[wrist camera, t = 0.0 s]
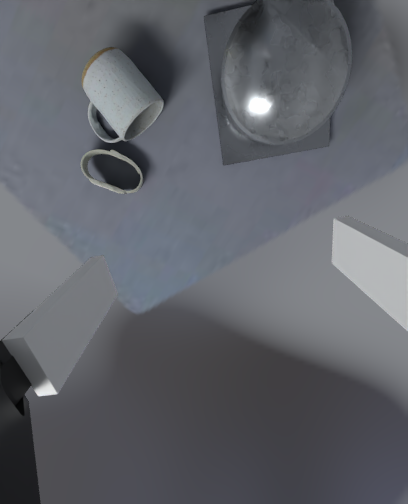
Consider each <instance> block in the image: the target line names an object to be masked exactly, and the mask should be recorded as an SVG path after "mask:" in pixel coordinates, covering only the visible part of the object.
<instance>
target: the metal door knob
mask: <svg viewBox="0 0 408 504" xmlns="http://www.w3.org/2000/svg"><path fill="white" fill-rule="evenodd" d="M204 23H205V30H206V38H207V45H208V53H209V60H210V68H211V76H212V83H213V91H214V98H215V106H216V113H217V121H218V128H219V136H220V144H221V151H222V159H223V165H229V164H235V163H240V162H246V161H251V160H257V159H262V158H268V157H273V156H279V155H284V154H290V153H295V152H301V151H306V150H312V149H317V148H323V147H328V146H329V140H330V117H331V115H332V114H333V112H334V111H335V110H336V108H337V106H338V105H339V103H340V101H341V99H342V97H343V95H344V93H345V90H346V87H347V84H348V81H349V77H350V72H351V65H352V45H351V38H350V34H349V30H348V27H347V24H346V22H345V19H344V18H343V16H342V14H341V12H340V11H339V9H338V8H337V7H336V6H335V4H334V0H258V1H256V2H255V3H254V4H253V5H250V6H245V7H241V8H237V9H232V10H228V11H224V12H219V13H215V14H211V15H206V16H204Z"/></svg>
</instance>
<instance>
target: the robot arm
mask: <svg viewBox="0 0 408 504" xmlns="http://www.w3.org/2000/svg"><path fill="white" fill-rule="evenodd" d="M333 224H334V225H333V246H332V264H333V265H334V266H335V267H337V268H338V269H339V270H340V271H341V272H342V273H343V274H344V275H345V276H347V277H348V278H349V279H350V280H351V281H352V282H353V283H354V284H356V285H357V286H358V287H359V288H360V289H361V290H362V291H364V293H366V294H367V295H368V296H369V297H370V298H371V299H372V300H373V301H374V302H376V303H377V304H378V305H379V306H380V307H381V308H382V309H383V310H384V311H386V312H387V313H388V314H389V315H390V316H391V317H392V318H393V319H395V320H396V321H397V322H398V323H399V324H400V325H401V326H402V327H403V328H405V329H406V330H407V331H408V243H406V242H404V241H401V240H399V239H397V238H395V237H393V236H391V235H388V234H386V233H384V232H382V231H380V230H378V229H375V228H373V227H371V226H369V225H367V224H365V223H362V222H360V221H358V220H356V219H354V218H352V217H349V216H345V217H339V218H334V223H333ZM117 296H118V293H117V290H116V287H115V285H114V282H113V279H112V277H111V274H110V271H109V269H108V266H107V263H106V260H105V258H104V255H101V256H95V257H91V258H90V259H88V260H87V261H86V262H85V263H84V264H83V265H82V266H81V267H80V268H79V269H78V270H77V271H76V272H75V273H73V274H72V275H71V276H70V277H69V278H68V279H67V280H66V281H65V282H64V283H63V284H62V285H61V286H60V287H58V288H57V289H56V290H55V291H54V292H53V293H52V294H51V295H50V296H49V297H48V298H47V299H46V300H44V301H43V302H42V303H41V304H40V305H39V306H38V307H37V308H36V309H35V310H33V311H32V312H31V313H30V314H29V315H28V316H27V317H26V318H24V320H23V321H21V322H20V323H19V324H18V325H17V326H16V327H15V328H14V329H13V330H11V331H10V332H9V333H8V334H7V335H6V336H5V337H4V338H3V339H2V340H1V341H0V504H41V503H40V494H39V485H38V477H37V469H36V460H35V452H34V442H33V434H32V425H31V417H30V408H29V401H28V399H27V398H26V396H25V395H24V394H25V393H26V391H27V390H28V389H29V387H30V386H32V387H33V389H34V390H35V392H36V393H37V395H38V396H46V395H54V394H58V393H59V391H60V389H61V388H62V386H63V384H64V383H65V381H66V379H67V378H68V376H69V375H70V373H71V371H72V370H73V368H74V366H75V365H76V363H77V361H78V360H79V358H80V356H81V355H82V353H83V352H84V350H85V348H86V347H87V345H88V343H89V342H90V340H91V338H92V337H93V335H94V333H95V332H96V330H97V329H98V327H99V325H100V323H101V322H102V320H103V319H104V317H105V315H106V314H107V312H108V310H109V308H110V307H111V305H112V304H113V302H114V300H115V299H116V297H117Z"/></svg>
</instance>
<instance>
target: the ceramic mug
mask: <svg viewBox="0 0 408 504" xmlns="http://www.w3.org/2000/svg"><path fill="white" fill-rule="evenodd" d="M82 87H83V89H84V91H85V93H86V94H87V96H88V98H89V99H90V101H91V102H90V103H89V107H88V118H89V122H90V125H91V127H92V128H93V130H94V132H95V133H96V134H97V136H98V137H99V138H100V139H102V140H103V141H105V142H108V143H115V142H118V141H121V140H123V141H129V140H132V139H134V138H136V137H137V136H139V135H140V134H141V133H143V132H144V131H145V130H146V129H147V128H148V127H149V126H150V125H151V124H152V123H153V122H154V121H155V120H156V119H157V117H158V116H159V114H160V113H161V111H162V109H163V105H164V101H163V99H162V98H161V96H160V95H159V94H158V93H157V92H156V90H155V89H154V88H153V87H152V85H151V84H150V83H149V82H148V80H147V79H146V78H145V77H144V76H143V75H142V73H141V72H140V71H139V70H138V68H137V67H136V66H135V65H134V63H133V62H132V61H131V60H130V58H129V57H128V56H126V55H125V54H124V53H123V52H122V51H121V50H119V49H118V48H114V47H109V48H105V49H102V50H100V51H99V52H97V53H96V54H95V55H94V56H93V57H92V58H91V59H90V60H89V61H88V63H87V64H86V66H85V68H84V71H83V74H82ZM97 109H98V110H99V111H100V112H101V114H102V115H103V116H104V118H105V119H106V120H107V121H108V123H109V124H110V125H111V127H112V128H113V129H114V130H115V132H116V133H117V134H118V135H119V137H118V138H116V139H113V138H111V137H110V136H108V135H107V133H106V132H105V131H104V129H103V128H102V127H101V125H100V123H99V122H98V120H97V116H96V110H97Z"/></svg>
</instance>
